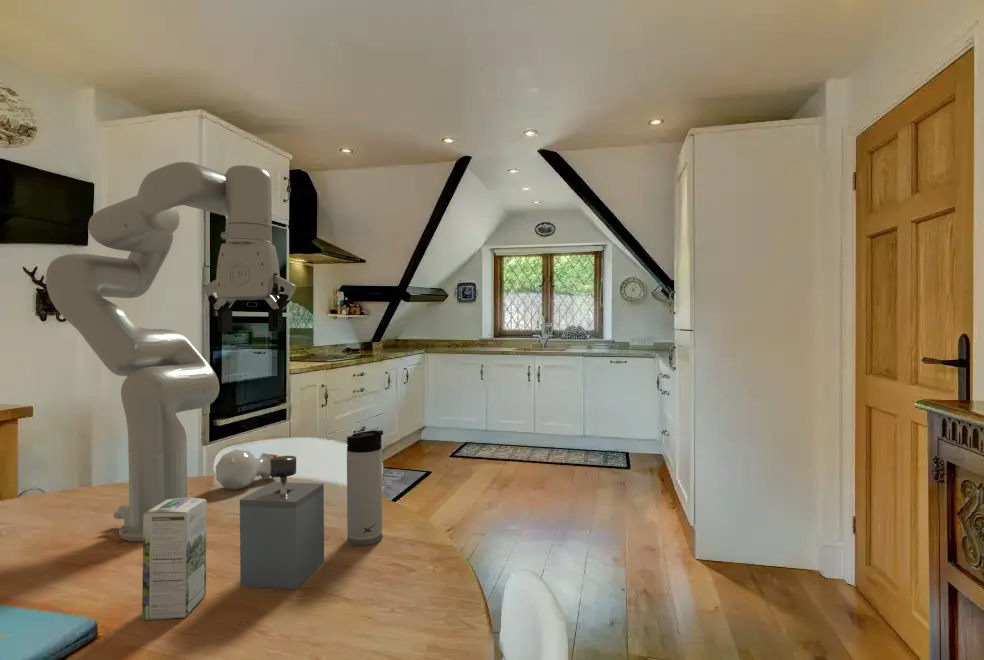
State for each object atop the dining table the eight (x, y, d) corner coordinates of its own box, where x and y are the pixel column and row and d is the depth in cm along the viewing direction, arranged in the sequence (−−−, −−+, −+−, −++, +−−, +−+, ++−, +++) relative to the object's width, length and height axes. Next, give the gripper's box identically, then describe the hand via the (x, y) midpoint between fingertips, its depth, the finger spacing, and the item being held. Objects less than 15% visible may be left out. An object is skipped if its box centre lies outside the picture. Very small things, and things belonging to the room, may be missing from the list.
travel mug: (375, 548, 90) (374, 434, 90) (341, 545, 91) (340, 433, 91) (389, 533, 96) (388, 427, 96) (357, 531, 97) (356, 426, 97)
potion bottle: (211, 499, 121) (268, 490, 133) (233, 480, 117) (289, 472, 130) (202, 464, 124) (258, 458, 137) (223, 444, 121) (279, 439, 133)
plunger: (257, 560, 78) (256, 462, 78) (277, 544, 84) (276, 453, 84) (291, 562, 78) (290, 463, 78) (309, 546, 83) (308, 454, 83)
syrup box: (165, 598, 73) (164, 498, 73) (207, 596, 74) (207, 496, 74) (141, 621, 68) (140, 512, 68) (187, 618, 68) (186, 510, 68)
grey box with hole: (240, 585, 77) (239, 499, 77) (273, 559, 86) (272, 481, 86) (296, 589, 76) (295, 501, 76) (324, 561, 85) (323, 483, 85)
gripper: (190, 235, 90) (191, 332, 90) (282, 231, 87) (283, 331, 87) (219, 242, 97) (219, 332, 97) (304, 239, 95) (305, 331, 95)
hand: (250, 331), depth 92 cm, fingers open, 9 cm apart
